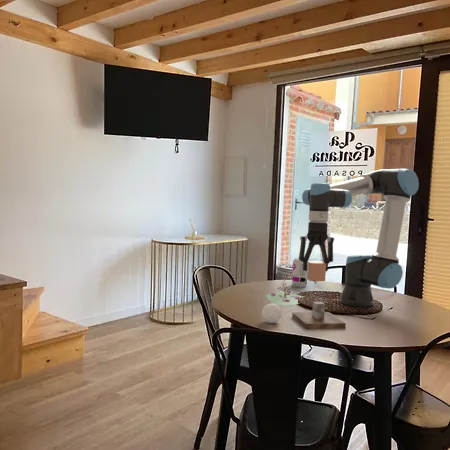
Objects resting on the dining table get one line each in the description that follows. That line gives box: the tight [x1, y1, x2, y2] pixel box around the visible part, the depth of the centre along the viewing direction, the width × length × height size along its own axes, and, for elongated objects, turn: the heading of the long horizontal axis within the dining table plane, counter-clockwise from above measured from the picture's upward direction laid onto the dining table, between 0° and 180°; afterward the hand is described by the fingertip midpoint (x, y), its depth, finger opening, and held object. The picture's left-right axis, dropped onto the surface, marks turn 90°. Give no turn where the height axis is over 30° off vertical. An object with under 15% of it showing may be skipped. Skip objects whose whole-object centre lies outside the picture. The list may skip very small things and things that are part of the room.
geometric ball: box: [261, 303, 283, 324], centre depth 175 cm, size 8×8×8 cm
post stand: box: [291, 301, 347, 330], centre depth 178 cm, size 16×16×8 cm
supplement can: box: [291, 257, 308, 288], centre depth 247 cm, size 8×8×15 cm
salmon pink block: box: [308, 260, 327, 282], centre depth 179 cm, size 6×6×7 cm
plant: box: [265, 280, 304, 306], centre depth 215 cm, size 25×21×9 cm
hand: (314, 278), depth 179 cm, fingers closed on salmon pink block, 6 cm apart
